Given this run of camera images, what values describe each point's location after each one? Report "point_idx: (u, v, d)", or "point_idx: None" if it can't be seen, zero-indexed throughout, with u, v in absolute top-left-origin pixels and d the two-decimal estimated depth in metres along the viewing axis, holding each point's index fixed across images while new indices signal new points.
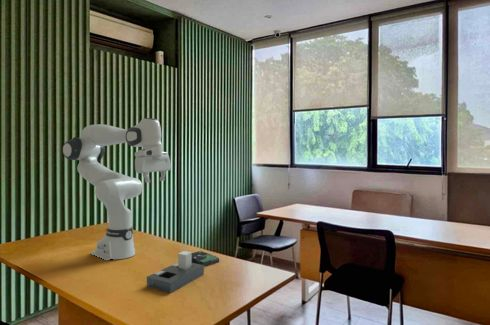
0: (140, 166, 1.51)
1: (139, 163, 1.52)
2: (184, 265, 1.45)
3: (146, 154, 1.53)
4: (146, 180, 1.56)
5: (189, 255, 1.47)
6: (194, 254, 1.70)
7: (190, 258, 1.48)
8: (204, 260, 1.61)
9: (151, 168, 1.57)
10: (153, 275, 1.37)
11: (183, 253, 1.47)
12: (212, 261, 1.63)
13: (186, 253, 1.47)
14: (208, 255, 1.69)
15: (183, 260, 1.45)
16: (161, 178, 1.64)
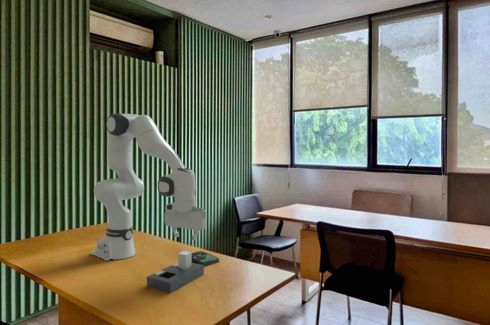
0: None
1: None
2: (184, 265, 1.45)
3: (166, 208, 1.47)
4: None
5: (189, 255, 1.47)
6: (194, 254, 1.70)
7: (190, 258, 1.48)
8: (204, 260, 1.61)
9: (176, 223, 1.47)
10: (153, 275, 1.37)
11: (183, 253, 1.47)
12: (212, 261, 1.63)
13: (186, 253, 1.47)
14: (208, 255, 1.69)
15: (183, 260, 1.45)
16: None
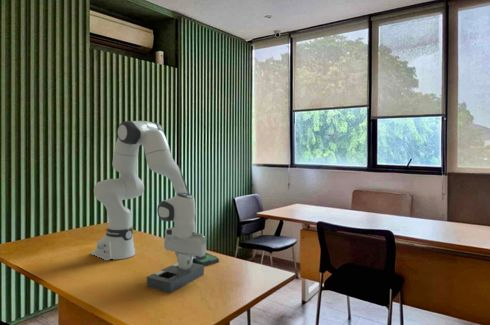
0: None
1: None
2: (184, 265, 1.45)
3: (166, 233, 1.48)
4: None
5: None
6: None
7: None
8: (203, 260, 1.61)
9: (175, 248, 1.47)
10: (153, 275, 1.37)
11: (183, 253, 1.47)
12: (211, 261, 1.63)
13: None
14: (208, 255, 1.69)
15: (183, 260, 1.45)
16: None
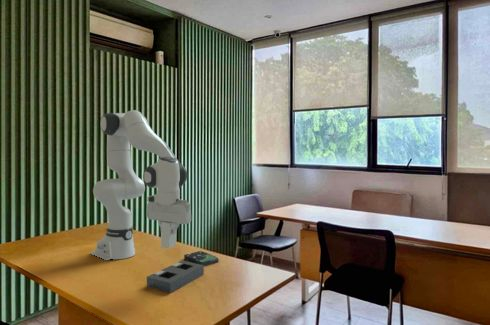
0: None
1: None
2: (167, 234, 1.35)
3: (148, 200, 1.37)
4: None
5: None
6: (194, 254, 1.70)
7: None
8: (203, 260, 1.61)
9: (158, 216, 1.37)
10: (153, 275, 1.37)
11: (166, 222, 1.36)
12: (211, 261, 1.62)
13: (170, 222, 1.36)
14: (208, 255, 1.69)
15: (166, 228, 1.35)
16: None
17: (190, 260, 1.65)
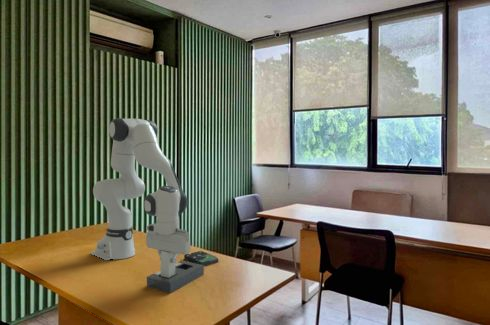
0: None
1: None
2: (167, 264, 1.35)
3: (148, 229, 1.38)
4: None
5: (172, 253, 1.37)
6: (194, 254, 1.70)
7: None
8: (203, 260, 1.61)
9: (158, 245, 1.37)
10: (153, 275, 1.37)
11: (166, 251, 1.37)
12: (211, 261, 1.62)
13: None
14: (208, 255, 1.69)
15: (166, 258, 1.35)
16: None
17: (190, 260, 1.65)
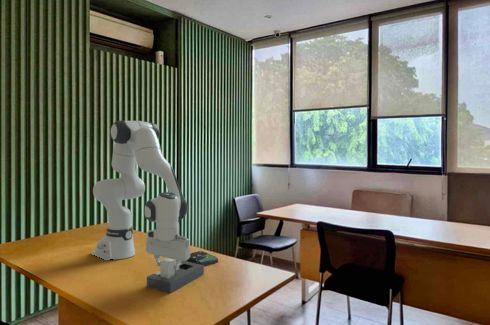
0: None
1: None
2: (166, 273, 1.36)
3: (148, 235, 1.38)
4: None
5: (172, 263, 1.37)
6: (194, 254, 1.70)
7: (173, 266, 1.38)
8: (202, 260, 1.61)
9: (158, 251, 1.37)
10: (153, 275, 1.37)
11: (166, 261, 1.37)
12: (211, 261, 1.62)
13: (169, 261, 1.37)
14: (208, 255, 1.69)
15: (165, 268, 1.36)
16: None
17: (190, 260, 1.65)
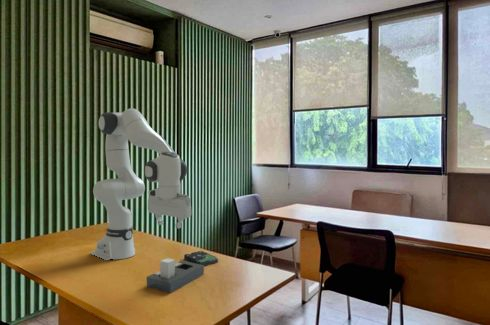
0: None
1: None
2: (166, 273, 1.36)
3: (149, 194, 1.39)
4: None
5: (172, 263, 1.37)
6: (194, 254, 1.70)
7: (173, 266, 1.38)
8: (202, 260, 1.61)
9: (159, 210, 1.39)
10: (153, 275, 1.37)
11: (166, 261, 1.37)
12: (210, 261, 1.62)
13: (169, 261, 1.37)
14: (208, 255, 1.69)
15: (165, 268, 1.36)
16: None
17: (190, 260, 1.65)
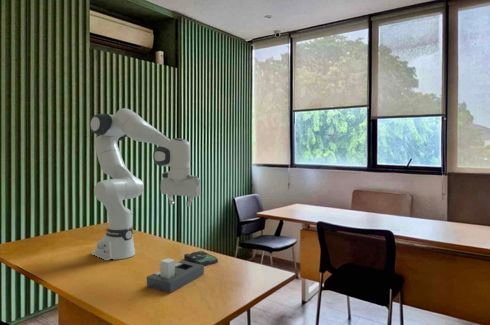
0: None
1: None
2: (166, 273, 1.36)
3: (162, 176, 1.54)
4: None
5: (172, 263, 1.37)
6: (194, 254, 1.70)
7: (173, 266, 1.38)
8: (202, 260, 1.61)
9: (171, 190, 1.54)
10: (153, 275, 1.37)
11: (166, 261, 1.37)
12: (210, 261, 1.62)
13: (169, 261, 1.37)
14: (207, 255, 1.69)
15: (165, 268, 1.36)
16: None
17: (189, 260, 1.66)
